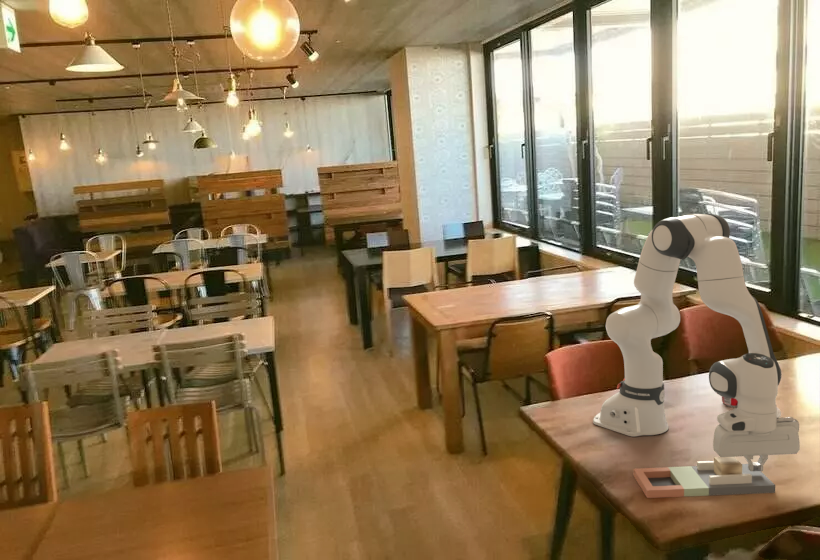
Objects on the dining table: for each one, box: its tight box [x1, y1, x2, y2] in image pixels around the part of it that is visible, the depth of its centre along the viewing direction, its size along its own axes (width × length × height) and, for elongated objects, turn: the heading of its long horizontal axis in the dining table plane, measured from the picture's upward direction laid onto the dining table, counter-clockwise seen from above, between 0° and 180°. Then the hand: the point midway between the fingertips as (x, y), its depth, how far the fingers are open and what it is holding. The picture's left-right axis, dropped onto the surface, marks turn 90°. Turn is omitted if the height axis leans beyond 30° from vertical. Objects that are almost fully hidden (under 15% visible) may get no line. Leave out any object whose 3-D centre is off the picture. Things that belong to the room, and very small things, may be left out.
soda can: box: [721, 396, 738, 408], centre depth 223 cm, size 7×7×12 cm
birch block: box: [713, 456, 743, 475], centre depth 172 cm, size 5×5×4 cm
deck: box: [632, 463, 776, 499], centre depth 173 cm, size 31×12×2 cm, turn 88°
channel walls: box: [696, 460, 752, 485], centre depth 173 cm, size 10×9×2 cm
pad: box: [667, 465, 710, 497], centre depth 173 cm, size 6×12×2 cm, turn 178°
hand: (755, 470), depth 172 cm, fingers closed
